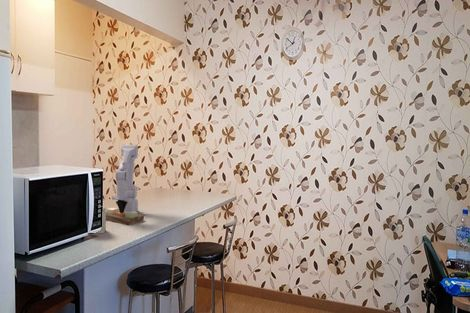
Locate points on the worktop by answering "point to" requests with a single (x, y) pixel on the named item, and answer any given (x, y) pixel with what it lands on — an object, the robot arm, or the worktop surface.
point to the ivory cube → (112, 210)
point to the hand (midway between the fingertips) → (121, 212)
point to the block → (131, 214)
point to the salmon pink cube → (120, 214)
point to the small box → (103, 221)
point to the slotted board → (124, 219)
